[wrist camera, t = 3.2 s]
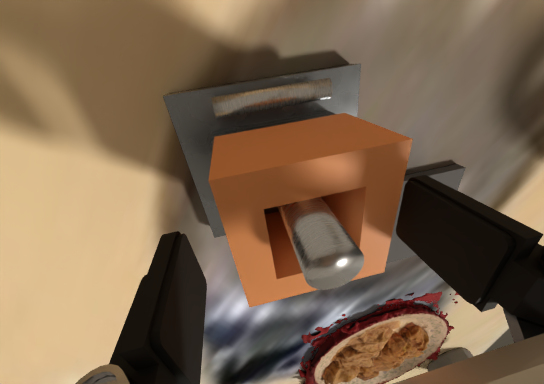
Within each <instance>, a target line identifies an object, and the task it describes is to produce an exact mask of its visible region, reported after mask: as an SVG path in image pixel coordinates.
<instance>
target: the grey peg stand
mask: <svg viewBox="0 0 544 384" xmlns="http://www.w3.org/2000/svg"><path fill="white" fill-rule="evenodd" d="M360 70H361V64H347V65H341V66H335V67H329V68H323V69H317V70H311V71H304V72H298V73H292V74H286V75H280V76H274V77H267V78H261V79H255V80H249V81H243V82H237V83H230V84H224V85H218V86H212V87H206V88H200V89H194V90H187V91H181V92H175V93H169V94H166V95H164V96H163V98H164V101H165V103H166V106H167V109H168V112H169V114H170V117H171V120H172V123H173V125H174V128H175V131H176V133H177V136H178V139H179V142H180V144H181V147H182V150H183V153H184V155H185V158H186V161H187V164H188V166H189V169H190V172H191V175H192V177H193V180H194V183H195V185H196V188H197V191H198V194H199V196H200V199H201V202H202V205H203V207H204V210H205V213H206V216H207V218H208V221H209V224H210V227H211V229H212V232H213V235H214V237H220V236H224V235H226V233H225V230H224V227H223V224H222V221H221V218H220V215H219V211H218V208H217V205H216V202H215V199H214V196H213V193H212V190H211V187H210V184H209V181H208V180H209V173H210V166H211V158H212V151H213V144H214V137H216V136H222V135H227V134H233V133H238V132H243V131H249V130H254V129H260V128H265V127H270V126H276V125H281V124H287V123H292V122H298V121H303V120H308V119H314V118H319V117H325V116H330V115H335V114H341V113H347V114H349V115H352V116H354V117H357V111H358V98H359V84H360ZM278 211H279V212H280V215H281V217H282V220H283V222H284V225H285V228H286V230H287V233H288V236H289V238H290V241H291V243H292V246H293V249H294V251H295V254H296V257H297V259H298V262H299V264H300V267H301V270H302V272H303V275H304V278H305V280H306V282H307V284H308V285H309V286H311V287H313V288H315V289H320V290H327V289H333V288H337V287H340V286H342V285H344V284H346V283H348V282H349V281H351V280H352V279H353V278H354V277H355V276H356V275H357V274H358V273H359V272H360V271H361V269H362V267H363V264H364V255H363V253H362V251H361V250H360V249H359V247H358V246H357V245H356V243H355V242H354V241H353V239H352V238H351V237H350V235H349V234H348V233H347V231H346V230H345V229H344V227H343V226H342V224H341V223H340V222H339V220H338V219H337V218H336V216H335V215H334V214H333V212H332V211H331V210H330V208H329V207H328V206H327V204H326V203H325V202H324V200H323V199H322V197H317V198H312V199H308V200H303V201H299V202H294V203H290V204H285V205H281V206H276V207H272V208H267V209H264V214H269V213H274V212H278Z"/></svg>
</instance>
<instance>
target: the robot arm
mask: <svg viewBox="0 0 544 384" xmlns="http://www.w3.org/2000/svg"><path fill="white" fill-rule="evenodd" d="M396 234H397V236H398V237H399V238H400V239H401V240H402V241H403V242H404V243H405V244H406V245H407V246H408V247H409V248H410V249H411V250H412V251H413V252H414V253H415V254H417V255H418V256H419V257H420V258H421V259H422V260H423V261H424V262H425V263H426V264H427V265H428V266H429V267H430V268H431V269H433V270H434V271H435V272H436V273H437V274H438V275H439V276H440V277H441V278H442V279H443V280H444V281H445V282H446V283H447V284H448V285H450V286H451V287H452V288H453V289H454V290H455V291H456V292H457V293H458V294H459V295H460V296H461V297H462V298H463V299H464V300H466V301H467V302H469V303H471V304H473V305H474V306H475V307H476V308H477V309H478V310H480V311H481V312H483V311H486V310H490V309H493V308H495V307H496V305H497V304H499V305H500V306H502V307H503V311H504V314H505V317H506V320H507V323H508V326H509V329H510V332H511V335H512V338H513V341H514V343H513V344H510V345H507V346H504V347H501V348H498V349H495V350H492V351H489V352H486V353H483V354H480V355H477V356H474V357H471V358H468V359H465V360H462V361H459V362H456V363H453V364H450V365H447V366H444V367H441V368H438V369H435V370H432V371H429V372H426V373H423V374H420V375H417V376H414V377H411V378H409V379H406V380H403V381H400V382H397V383H394V384H544V246H541V245H539V244H538V242H539V240H540V239H541V237H542V236H543V234H542V233H540V232H538V231H536V230H534V229H532V228H530V227H528V226H526V225H524V224H522V223H520V222H518V221H516V220H514V219H512V218H510V217H508V216H506V215H504V214H502V213H500V212H498V211H496V210H494V209H492V208H490V207H488V206H486V205H484V204H482V203H480V202H478V201H476V200H475V199H473V198H471V197H469V196H467V195H465V194H463V193H461V192H459V191H457V190H455V189H453V188H451V187H449V186H447V185H445V184H443V183H441V182H439V181H437V180H435V179H433V178H431V177H429V176H427V175H420V176H416V177H412V178H410V179H409V180H408V181H407V183H406V184H405V186H404V191H403V196H402V201H401V206H400V211H399V216H398V221H397V226H396ZM206 291H207V284H206V279H205V277H204V274H203V272H202V270H201V268H200V265H199V263H198V261H197V259H196V256H195V254H194V252H193V250H192V247H191V245H190V243H189V241H188V238H187V236H186V235H185V234H181V233H180V232H179V231H177V232H172V233H168V234H164V235H162V236H161V238H160V241H159V244H158V247H157V249H156V252H155V255H154V257H153V260H152V263H151V266H150V268H149V271H148V274H147V275H145V276H144V277H143V278H142V280H141V282H140V285H139V288H138V290H137V293H136V295H135V298H134V300H133V303H132V306H131V308H130V311H129V313H128V316H127V319H126V321H125V324H124V326H123V329H122V332H121V334H120V337H119V339H118V342H117V344H116V347H115V350H114V352H113V355H112V357H111V360H110V363H109V364H108V365H103V366H100V367H98V368H96V369H94V370H92V371H90V372H89V373H88V374H86V375H85V376H84V377H82V378H81V379H80V380H79V381H78V382H77V383H76V384H200V376H201V362H202V347H203V333H204V319H205V305H206Z"/></svg>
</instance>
